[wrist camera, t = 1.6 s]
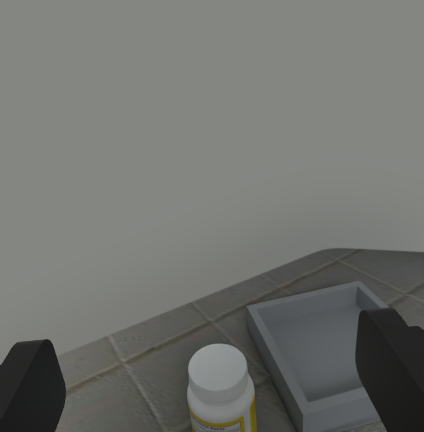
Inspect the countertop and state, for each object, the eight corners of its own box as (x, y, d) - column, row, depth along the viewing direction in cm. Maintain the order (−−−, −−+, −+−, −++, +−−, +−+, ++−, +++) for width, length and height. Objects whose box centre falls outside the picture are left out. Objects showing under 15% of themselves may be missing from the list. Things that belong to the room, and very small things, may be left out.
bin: (357, 304, 42) (359, 280, 40) (450, 399, 30) (458, 370, 29) (247, 330, 39) (246, 305, 38) (302, 444, 28) (303, 414, 26)
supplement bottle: (226, 407, 31) (218, 329, 28) (271, 444, 28) (268, 361, 24) (183, 447, 28) (168, 366, 25) (227, 494, 25) (216, 408, 22)
